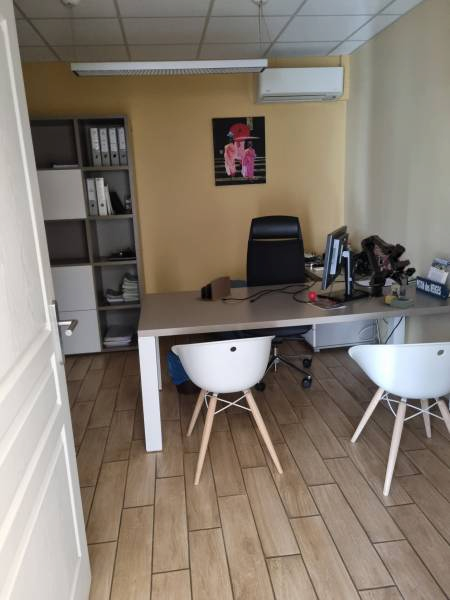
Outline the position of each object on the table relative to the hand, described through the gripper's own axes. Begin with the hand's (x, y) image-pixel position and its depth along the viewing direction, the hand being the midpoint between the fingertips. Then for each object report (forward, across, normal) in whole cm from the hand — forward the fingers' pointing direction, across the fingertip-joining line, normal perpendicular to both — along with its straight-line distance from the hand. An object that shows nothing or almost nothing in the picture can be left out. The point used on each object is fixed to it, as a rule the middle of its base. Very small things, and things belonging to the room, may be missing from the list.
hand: (404, 284), depth 267 cm
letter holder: (-33, -99, +53) cm, 117 cm away
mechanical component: (-4, +10, +22) cm, 25 cm away
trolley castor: (+1, +3, +18) cm, 18 cm away
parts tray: (+8, 0, +10) cm, 13 cm away
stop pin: (+4, 0, +6) cm, 7 cm away
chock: (+2, -2, +16) cm, 16 cm away
